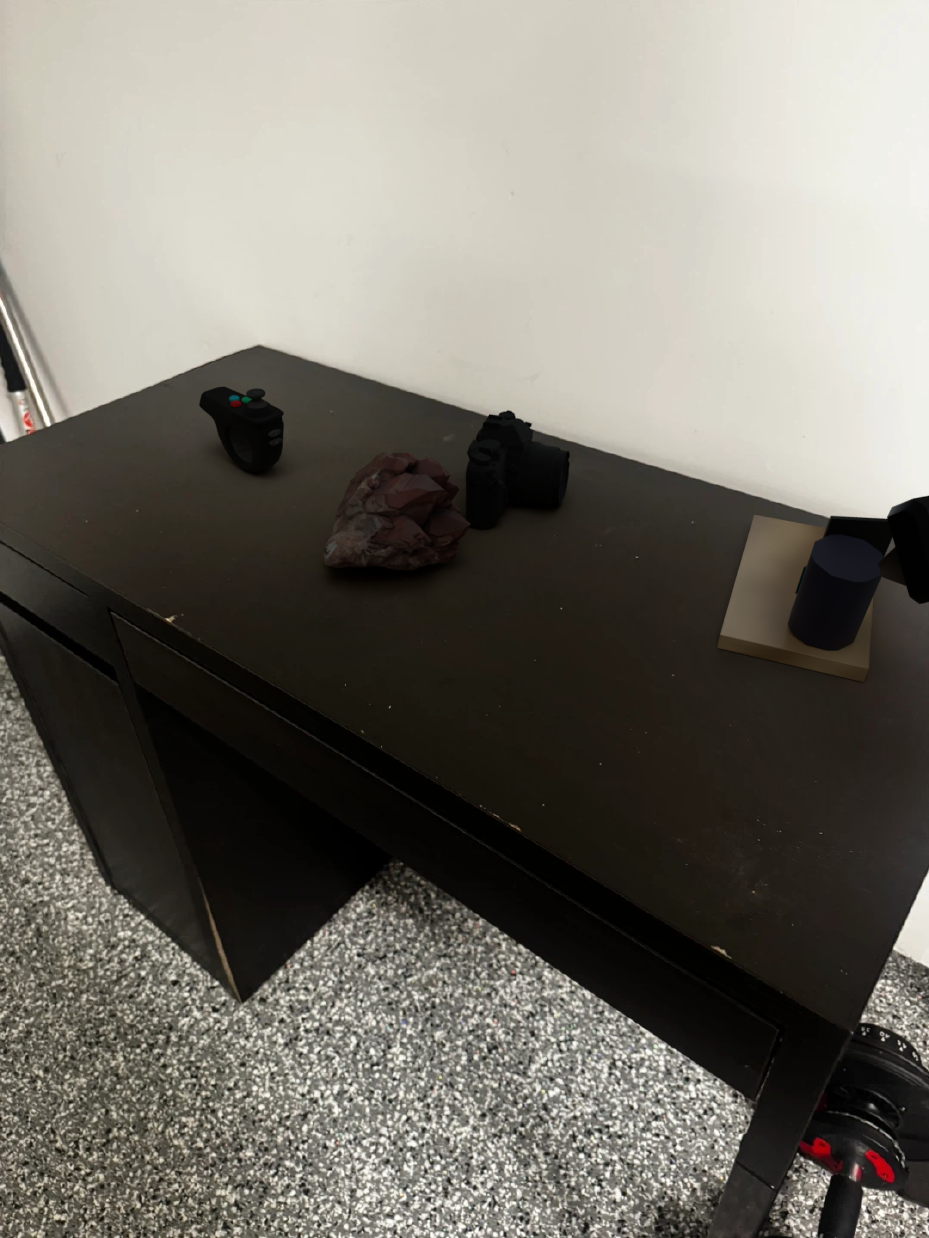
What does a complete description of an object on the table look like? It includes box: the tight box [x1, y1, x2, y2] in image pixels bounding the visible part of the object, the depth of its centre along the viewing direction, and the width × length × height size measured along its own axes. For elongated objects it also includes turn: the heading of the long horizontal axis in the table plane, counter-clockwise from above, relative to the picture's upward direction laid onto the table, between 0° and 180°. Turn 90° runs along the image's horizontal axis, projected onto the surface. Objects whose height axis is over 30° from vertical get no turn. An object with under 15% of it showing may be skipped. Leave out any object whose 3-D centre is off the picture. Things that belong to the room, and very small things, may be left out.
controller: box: [198, 386, 285, 473], centre depth 101 cm, size 4×12×10 cm, turn 47°
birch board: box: [716, 514, 874, 683], centre depth 83 cm, size 12×22×2 cm, turn 158°
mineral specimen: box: [322, 452, 471, 572], centre depth 85 cm, size 12×13×15 cm
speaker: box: [788, 515, 893, 651], centre depth 73 cm, size 8×6×10 cm
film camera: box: [464, 409, 571, 530], centre depth 95 cm, size 15×10×9 cm, turn 163°
